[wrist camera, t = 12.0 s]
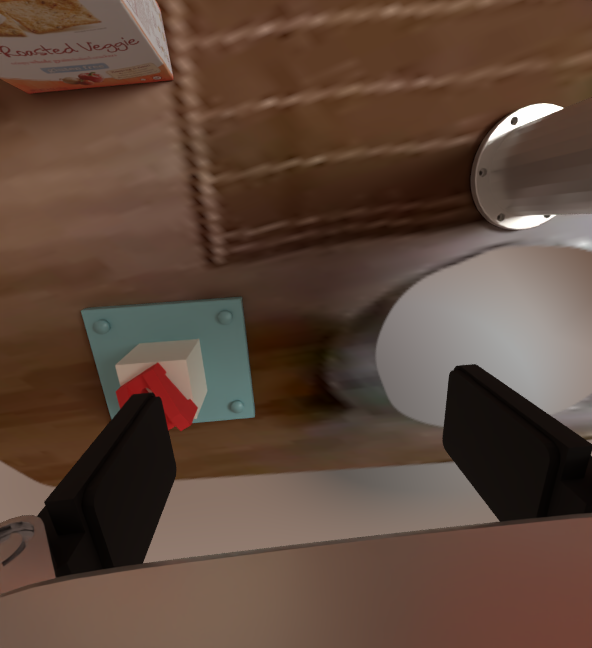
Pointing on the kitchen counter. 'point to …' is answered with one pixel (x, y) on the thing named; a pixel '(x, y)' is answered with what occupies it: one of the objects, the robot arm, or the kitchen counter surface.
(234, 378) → the baseplate
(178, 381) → the base block
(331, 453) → the kitchen counter surface
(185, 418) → the bracket
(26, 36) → the cracker box
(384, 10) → the kitchen counter surface
